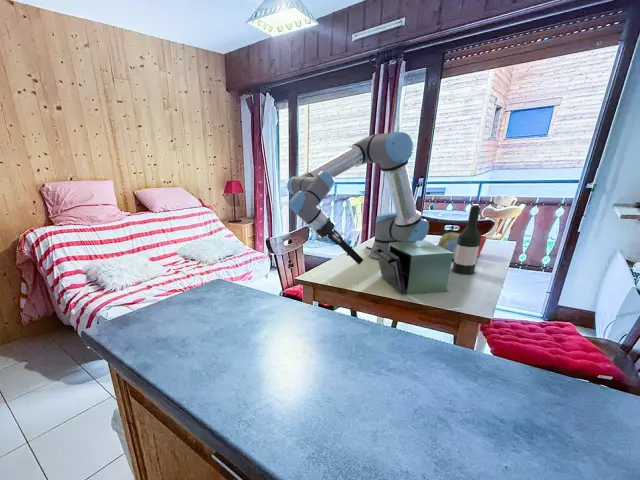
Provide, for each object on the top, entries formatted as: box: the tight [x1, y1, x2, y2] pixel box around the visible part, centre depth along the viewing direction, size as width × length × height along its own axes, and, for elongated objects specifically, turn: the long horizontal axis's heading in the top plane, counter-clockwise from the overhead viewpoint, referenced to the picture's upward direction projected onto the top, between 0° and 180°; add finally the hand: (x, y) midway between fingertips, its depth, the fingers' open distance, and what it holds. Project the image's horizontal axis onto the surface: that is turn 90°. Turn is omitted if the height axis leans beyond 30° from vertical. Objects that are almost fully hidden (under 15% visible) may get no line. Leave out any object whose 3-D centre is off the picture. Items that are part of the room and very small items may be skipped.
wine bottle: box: [452, 203, 482, 275], centre depth 143 cm, size 8×8×30 cm
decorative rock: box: [436, 232, 460, 260], centre depth 165 cm, size 14×16×15 cm
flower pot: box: [477, 234, 487, 257], centre depth 169 cm, size 11×11×10 cm
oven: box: [389, 239, 453, 295], centre depth 136 cm, size 16×20×16 cm
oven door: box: [373, 245, 407, 295], centre depth 136 cm, size 4×20×16 cm, turn 2°
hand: (360, 261), depth 134 cm, fingers closed
